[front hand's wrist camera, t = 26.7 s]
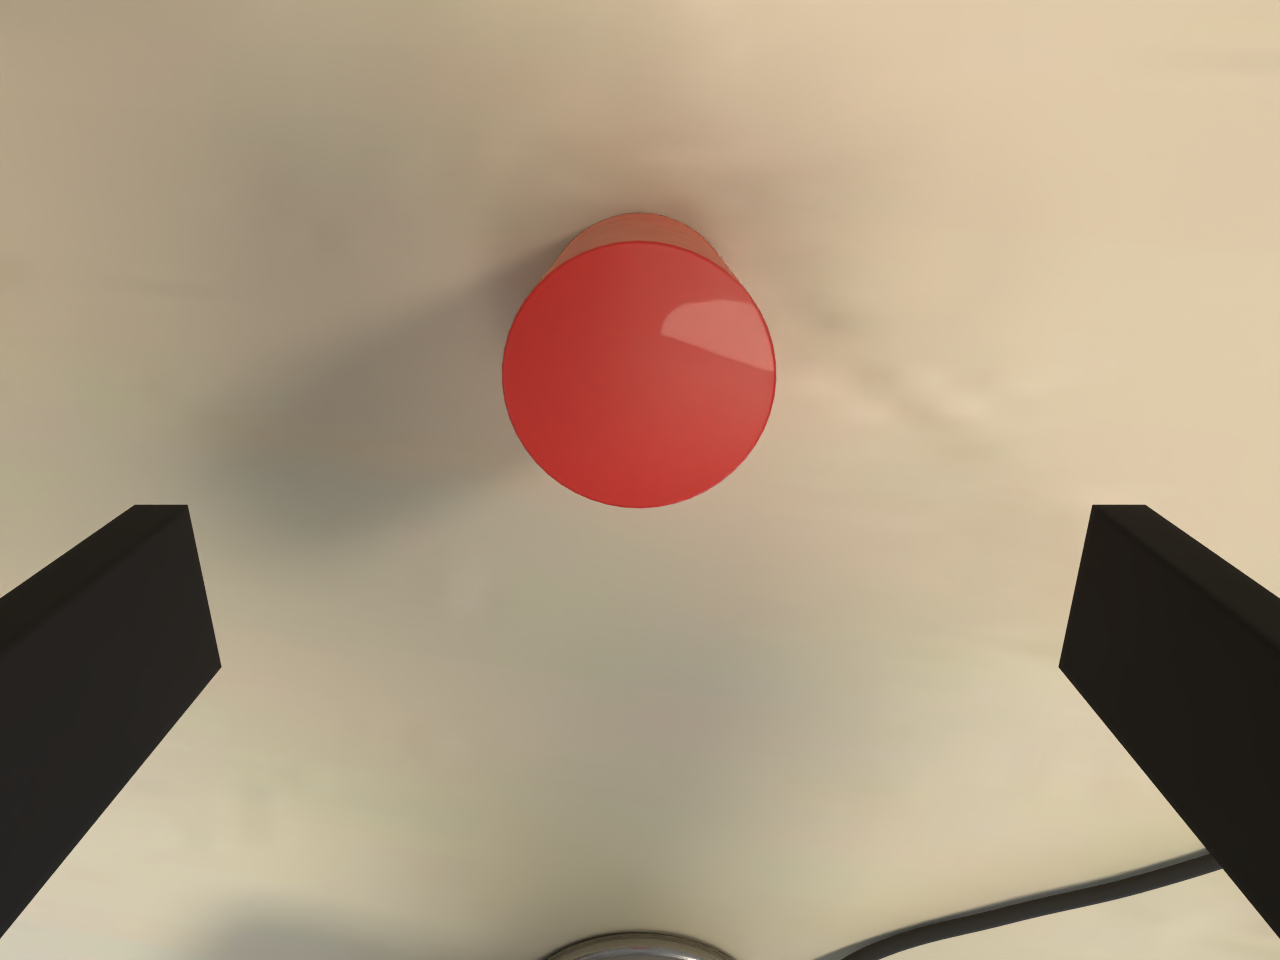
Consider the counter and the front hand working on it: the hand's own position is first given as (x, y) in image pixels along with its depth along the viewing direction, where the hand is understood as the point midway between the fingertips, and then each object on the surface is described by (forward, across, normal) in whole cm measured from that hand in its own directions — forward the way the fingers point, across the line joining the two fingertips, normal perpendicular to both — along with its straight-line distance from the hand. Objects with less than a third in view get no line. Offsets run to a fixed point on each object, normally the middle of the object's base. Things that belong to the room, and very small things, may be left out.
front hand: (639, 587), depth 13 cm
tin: (+23, 0, 0) cm, 23 cm away
